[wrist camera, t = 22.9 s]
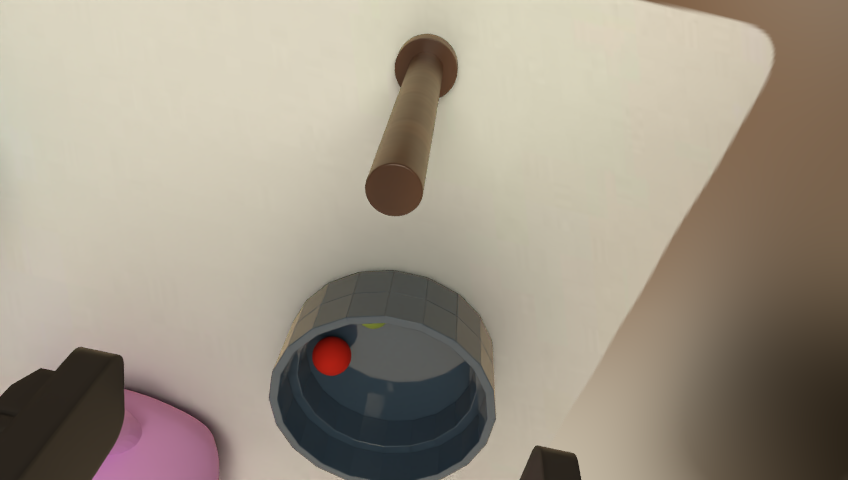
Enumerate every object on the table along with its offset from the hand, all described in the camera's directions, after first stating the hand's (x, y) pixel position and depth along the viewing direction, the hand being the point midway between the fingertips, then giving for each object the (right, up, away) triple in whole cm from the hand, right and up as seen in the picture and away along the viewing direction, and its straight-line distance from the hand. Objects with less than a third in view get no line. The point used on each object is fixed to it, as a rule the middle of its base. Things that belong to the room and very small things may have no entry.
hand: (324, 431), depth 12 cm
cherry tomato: (-5, -5, +34) cm, 34 cm away
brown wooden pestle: (+2, +14, +25) cm, 29 cm away
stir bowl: (-1, -5, +36) cm, 36 cm away
